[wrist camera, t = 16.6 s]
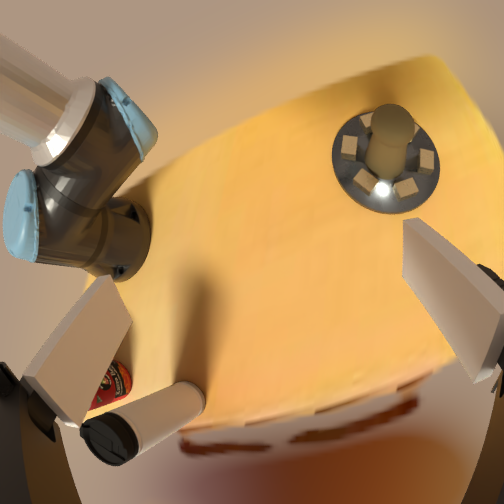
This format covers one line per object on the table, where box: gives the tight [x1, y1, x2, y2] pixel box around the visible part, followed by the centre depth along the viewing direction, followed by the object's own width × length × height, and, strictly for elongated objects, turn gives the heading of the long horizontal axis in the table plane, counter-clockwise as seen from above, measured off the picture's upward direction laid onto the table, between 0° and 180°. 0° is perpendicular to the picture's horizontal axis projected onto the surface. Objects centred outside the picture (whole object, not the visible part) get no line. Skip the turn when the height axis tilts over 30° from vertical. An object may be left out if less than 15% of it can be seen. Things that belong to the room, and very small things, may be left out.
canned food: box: [88, 360, 132, 411], centre depth 41 cm, size 8×8×11 cm
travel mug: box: [80, 381, 205, 466], centre depth 32 cm, size 6×7×20 cm
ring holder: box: [332, 112, 440, 214], centre depth 36 cm, size 16×16×3 cm
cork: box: [364, 104, 415, 180], centre depth 31 cm, size 6×6×11 cm
